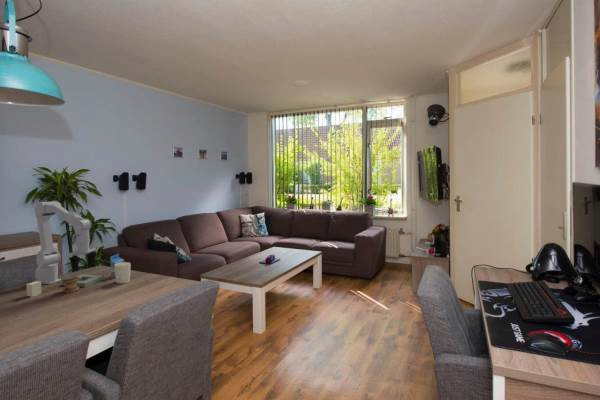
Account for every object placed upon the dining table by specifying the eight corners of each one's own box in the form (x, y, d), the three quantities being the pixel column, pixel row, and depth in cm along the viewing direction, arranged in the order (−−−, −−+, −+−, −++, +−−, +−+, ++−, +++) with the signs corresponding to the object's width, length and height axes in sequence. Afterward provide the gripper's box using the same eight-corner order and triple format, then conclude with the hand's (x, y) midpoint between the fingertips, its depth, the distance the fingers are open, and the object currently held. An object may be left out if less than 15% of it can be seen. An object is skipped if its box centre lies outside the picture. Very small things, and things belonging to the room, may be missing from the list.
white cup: (126, 284, 187) (125, 266, 186) (111, 283, 187) (111, 265, 186) (133, 279, 195) (133, 262, 194) (119, 279, 195) (119, 262, 194)
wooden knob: (59, 292, 172) (58, 280, 172) (70, 287, 179) (70, 276, 179) (71, 293, 171) (71, 281, 171) (82, 288, 178) (82, 277, 178)
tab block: (26, 296, 166) (26, 284, 165) (36, 293, 170) (35, 281, 170) (32, 297, 165) (32, 284, 165) (41, 293, 170) (41, 281, 170)
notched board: (61, 285, 182) (61, 281, 182) (81, 277, 196) (81, 274, 196) (85, 287, 181) (85, 283, 180) (104, 279, 194) (103, 275, 194)
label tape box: (117, 277, 198) (117, 256, 197) (110, 277, 198) (110, 256, 197) (125, 273, 206) (125, 253, 205) (118, 273, 206) (118, 253, 206)
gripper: (74, 245, 171) (74, 272, 172) (101, 240, 184) (101, 265, 185) (64, 244, 174) (65, 270, 175) (92, 239, 187) (92, 264, 188)
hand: (83, 268), depth 180 cm, fingers open, 7 cm apart
